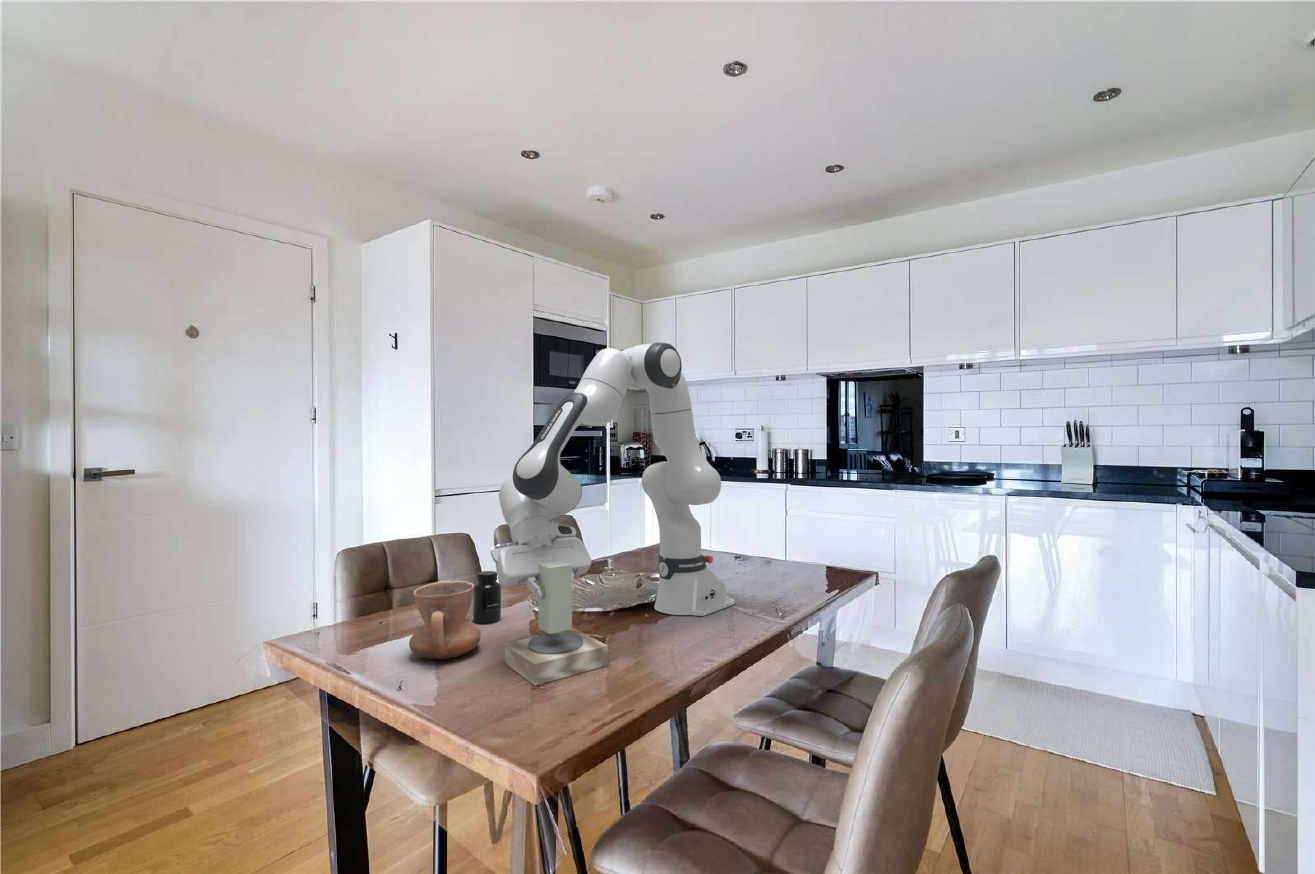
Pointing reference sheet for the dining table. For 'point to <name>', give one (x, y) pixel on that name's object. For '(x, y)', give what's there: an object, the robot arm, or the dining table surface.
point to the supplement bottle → (487, 598)
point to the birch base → (555, 655)
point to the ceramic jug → (444, 621)
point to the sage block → (555, 597)
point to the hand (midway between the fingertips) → (556, 595)
